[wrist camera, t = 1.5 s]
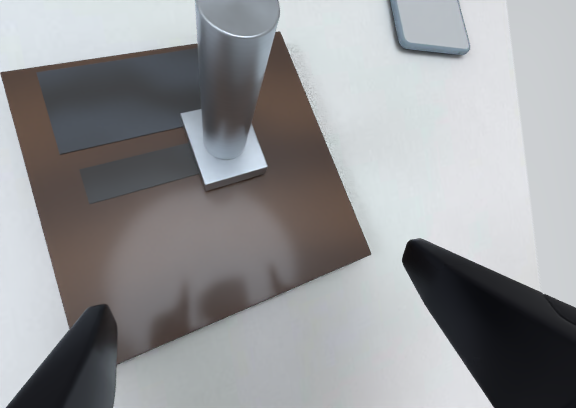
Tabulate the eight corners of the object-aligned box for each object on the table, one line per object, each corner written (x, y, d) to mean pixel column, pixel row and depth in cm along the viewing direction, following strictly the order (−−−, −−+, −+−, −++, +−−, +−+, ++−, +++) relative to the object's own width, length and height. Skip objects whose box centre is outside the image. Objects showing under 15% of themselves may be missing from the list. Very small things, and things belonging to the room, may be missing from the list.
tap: (264, 173, 22) (325, 58, 10) (205, 191, 21) (197, 82, 9) (216, 46, 24) (221, -186, 12) (158, 55, 22) (97, -197, 10)
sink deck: (362, 255, 25) (372, 254, 23) (92, 371, 19) (81, 380, 17) (276, 43, 27) (280, 29, 26) (13, 85, 21) (-2, 70, 20)
